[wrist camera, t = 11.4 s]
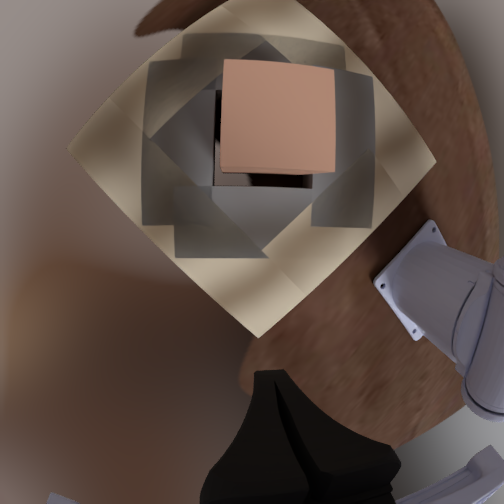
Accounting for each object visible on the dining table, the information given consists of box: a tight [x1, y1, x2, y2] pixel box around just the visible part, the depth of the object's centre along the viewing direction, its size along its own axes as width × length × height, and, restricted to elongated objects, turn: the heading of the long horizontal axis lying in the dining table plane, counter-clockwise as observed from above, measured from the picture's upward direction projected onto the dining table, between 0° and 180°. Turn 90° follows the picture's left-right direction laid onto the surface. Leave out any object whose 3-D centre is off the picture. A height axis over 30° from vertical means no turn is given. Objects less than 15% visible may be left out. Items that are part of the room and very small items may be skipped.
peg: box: [220, 59, 336, 175], centre depth 15 cm, size 5×5×8 cm
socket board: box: [66, 0, 436, 338], centre depth 18 cm, size 19×19×2 cm
